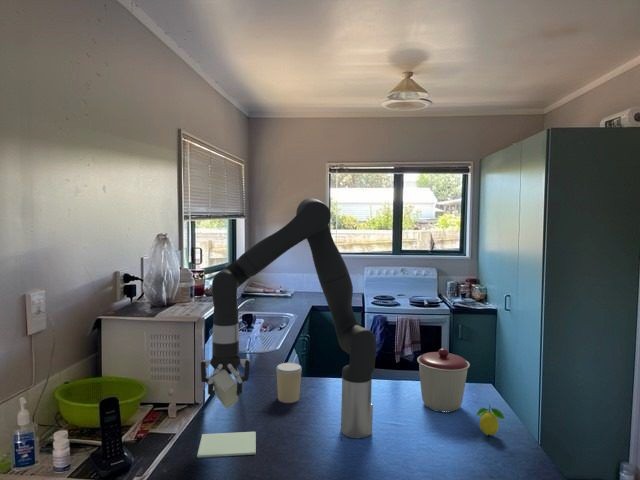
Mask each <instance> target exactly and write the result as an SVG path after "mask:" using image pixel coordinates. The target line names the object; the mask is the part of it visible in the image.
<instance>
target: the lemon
mask: <svg viewBox="0 0 640 480" xmlns="http://www.w3.org/2000/svg"><path fill="white" fill-rule="evenodd" d="M488 406H489V407H488V409H487V408H484V407H482V408H480V409H479V410H478V411H477V413H476V416H480V419H479V429H480V431H481V432H482V433H484V434H485V435H487V434H488V435H490V436H493V435H496V434H497V432H498V431H499V425H500V424H499V420H498V419H500V420H505V416H504V414H503V413H502V411H501V410H499V409H498V408H492V407H491V404H489V405H488ZM488 435H487V436H488Z"/></svg>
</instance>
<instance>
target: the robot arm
mask: <svg viewBox="0 0 640 480" xmlns="http://www.w3.org/2000/svg"><path fill="white" fill-rule="evenodd" d="M331 217H332V212H331V210H330V208H329V207H328V206H327V204H326V203H325V202H323V201H321V200H320V199H317V198H312V197H309V198H305V199H304V200H302V201H300V203H299V204H298V206H297V208H296V214H295V216H294V217H293V218H292V219H291V220H290V221H289V222H288V223H287V224H285V225H284V226H282V228H280V229H279V230H277V231H275V232H273V233H272V234H271V235H268V236H267V237H265V238H263V239H261V240H260V241H258V242H257V243H255V244H254V245H253V246H251V247H250V248H249V249H248V250H247V249H246V251H245V252H244V253H242V254H241V255H240V256H239V257H238V258H237V259H235V260H234V261H233V262H231V263H230V264H228V265H227V266H226V267H224V268H223V269H221V270H219V271H218V272H217V273H216V274H215V275H214V277H213V278H212V283H211V295H212V301H213V302H212V303H213V322H212V323H213V324H212V325H213V326H212V341H211V343H212V345H211V346H212V351H211V354H212V356H211V359H205V358H203V359H201V361H200V373H201V374H200V377H201V382H202V383H206V384H207V394H208V396H209V397H212V398H213V397H214V393H215V390H214V385H213V381H212V377H213V376H214V375H215V374H217V373H219V372H220V371H221V370H226V371H227V372H228V374H229V375H232V376H233V377H234V378H235V380H236V381H237V382H236V386H237V396H238V397H240V394H242V393H243V382H248V381H249V377H250V360H251V359H250V358H249V357H246V358H243V359H242V358H240V326H239V307H238V304H237V302H238V296H237V295H238V288H239V287H241V286H242V285H243V284H244V283H245V282H247V281H248V280H249V279H251V278H252V277H254V276H256V275H257V274H259V273H260V272H262V271H263V270H264V269H265V268H266V267H268V266H270V264H272V263H273V262H274V261H276V260H277V259H278V258H280V257H281V256H282V255H284V254H285V253H287V252H288V251H290V249H292V248H294V246H296V245H299V244H300V243H301V242H303V241H304V240H307V243H308V246H309V249H310V252H311V255H312V261H313V264H314V268H315V271H316V275H317V278H318V280H319V284H320V288H321V290H322V292H323V295H324V298H325V301H326V304H327V306H328V308H329V312H330V314H331V316H332V321H333V325H334V328H335V334H336V337H337V342H338V344H339V347H340V348H341V349H342V350H343V351H344V352H345V353H346V354H349V364H347V365H345V366H343V368H342V369H341V371H342V373H341V375H342V376H341V403H340V404H341V406H340V409H341V410H340V432H341V434H342V435H343V436H345V437H347V438H351V439H362V438H367V437H369V436H373V417H374V415H373V412H374V411H373V410H374V406H373V403H372V385H373V384H372V383H373V382H372V379H373V374H374V373H373V372H374V370H375V366H376V356H377V355H376V354H377V340H376V336H375V334H374V332H373V331H372V330H370V329H368V328H365V327H363V326H361V325H360V324H359V322H358V321H357V318H356V316H355V312H354V310H353V295H354V294H353V292H354V288H353V283H352V282H353V281H352V278H351V276H350V273H349V270H348V267H347V265H346V263H345V262H346V261H344V258H343V257H342V254H341V252H340V251H339V249H338V247H337V245H336V242H335V241H334V239H333V237H332V236H333V235H332V232H331V228H330V225H329V224H330V222H331ZM240 364H241V366H242V367H243V368H244V375H242V374H241V372H240V371H239V369H238V367H240V366H239V365H240ZM210 366H211V367H212V368H213V371H212V373H211V375H210V376H207V373H208V372H207V369H208V368H209V367H210Z"/></svg>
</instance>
